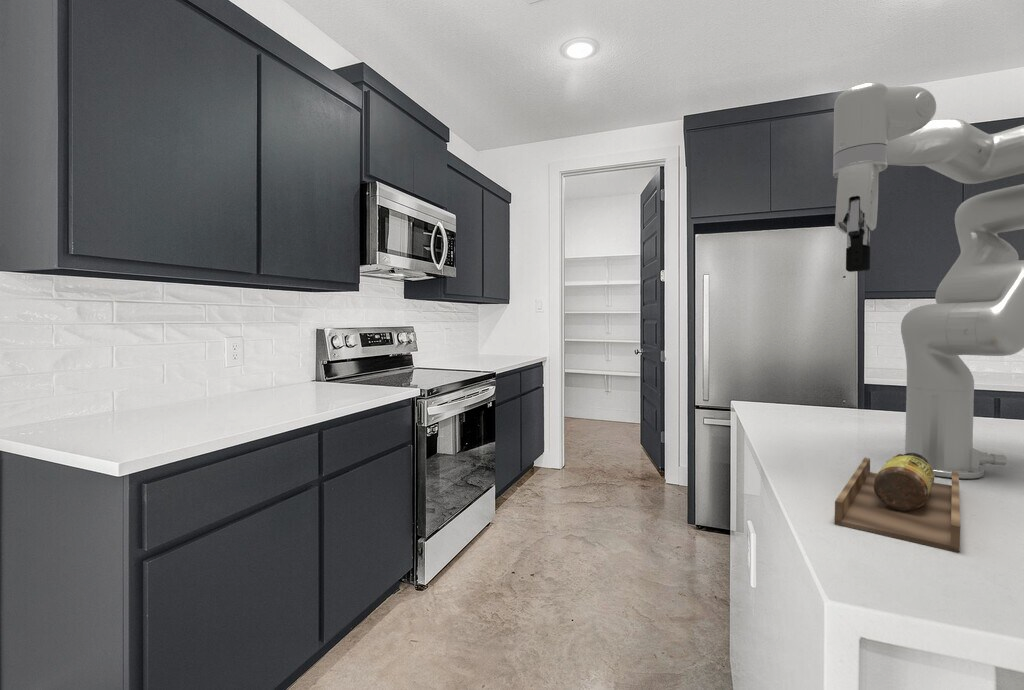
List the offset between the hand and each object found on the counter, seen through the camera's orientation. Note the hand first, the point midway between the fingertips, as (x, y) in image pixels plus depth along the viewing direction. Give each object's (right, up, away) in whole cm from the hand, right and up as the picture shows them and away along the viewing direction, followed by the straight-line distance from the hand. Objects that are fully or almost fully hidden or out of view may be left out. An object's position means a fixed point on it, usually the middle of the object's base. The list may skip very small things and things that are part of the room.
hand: (857, 270), depth 81 cm
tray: (0, -37, -9) cm, 39 cm away
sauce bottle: (-4, -34, -14) cm, 37 cm away
